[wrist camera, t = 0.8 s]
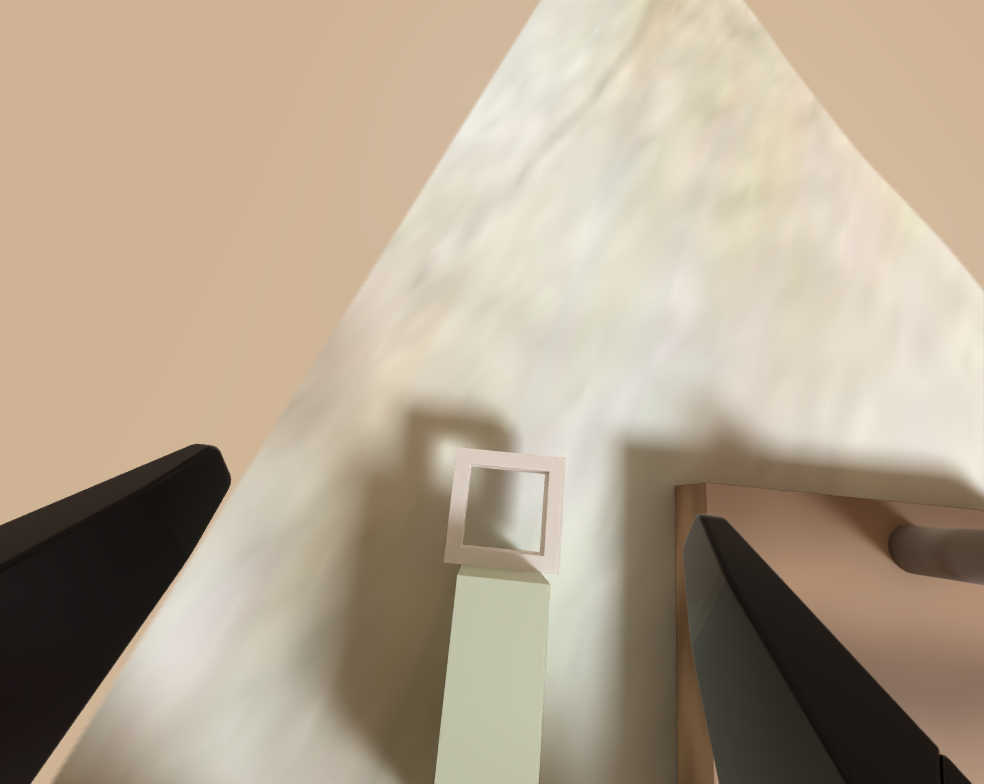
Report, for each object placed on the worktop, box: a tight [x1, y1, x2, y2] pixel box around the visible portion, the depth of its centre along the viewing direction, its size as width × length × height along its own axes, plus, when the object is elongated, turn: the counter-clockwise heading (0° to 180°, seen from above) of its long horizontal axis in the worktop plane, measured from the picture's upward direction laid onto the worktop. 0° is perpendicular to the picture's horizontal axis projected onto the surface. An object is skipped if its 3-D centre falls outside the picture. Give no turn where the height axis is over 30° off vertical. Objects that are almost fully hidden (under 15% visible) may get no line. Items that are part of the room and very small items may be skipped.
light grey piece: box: [434, 447, 565, 784], centre depth 16 cm, size 14×4×6 cm, turn 174°
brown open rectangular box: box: [675, 483, 984, 784], centre depth 15 cm, size 14×16×8 cm
